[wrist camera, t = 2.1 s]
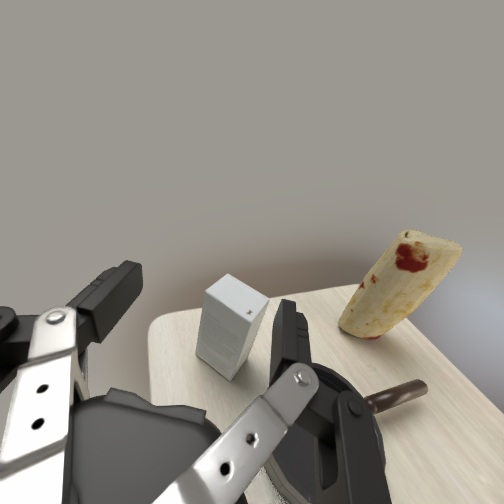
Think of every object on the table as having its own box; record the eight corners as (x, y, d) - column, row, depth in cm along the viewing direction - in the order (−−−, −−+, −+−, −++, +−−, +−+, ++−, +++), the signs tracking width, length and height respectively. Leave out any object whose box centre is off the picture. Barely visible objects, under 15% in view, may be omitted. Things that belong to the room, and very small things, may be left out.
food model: (342, 345, 37) (423, 245, 26) (327, 312, 42) (389, 216, 31) (393, 347, 39) (489, 255, 28) (373, 315, 44) (446, 227, 33)
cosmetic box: (248, 357, 32) (272, 299, 25) (230, 383, 28) (252, 324, 22) (214, 332, 34) (227, 271, 27) (193, 353, 30) (203, 290, 24)
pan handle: (365, 419, 26) (374, 413, 25) (355, 402, 28) (363, 395, 27) (425, 395, 31) (434, 389, 30) (414, 381, 32) (422, 375, 31)
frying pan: (285, 549, 19) (300, 547, 17) (242, 388, 28) (248, 374, 26) (391, 487, 24) (413, 479, 22) (325, 367, 33) (336, 353, 31)
